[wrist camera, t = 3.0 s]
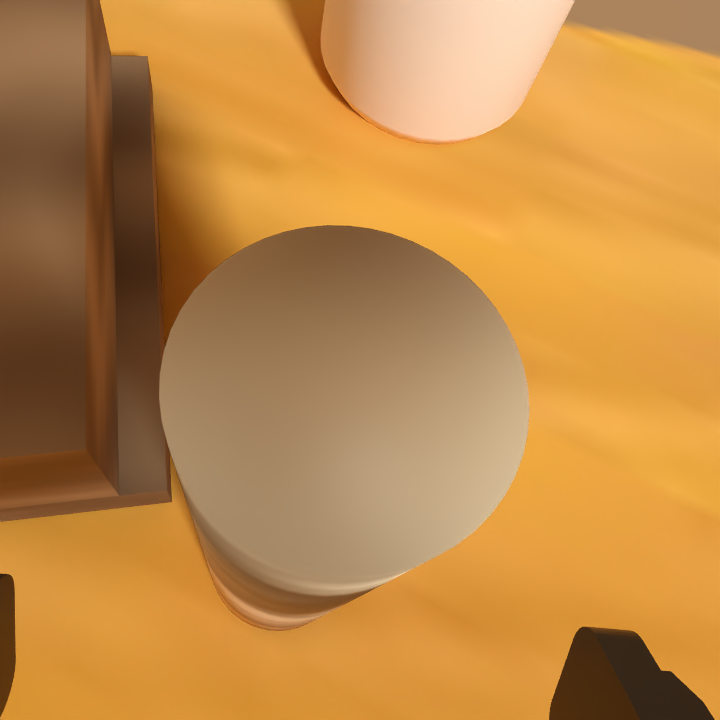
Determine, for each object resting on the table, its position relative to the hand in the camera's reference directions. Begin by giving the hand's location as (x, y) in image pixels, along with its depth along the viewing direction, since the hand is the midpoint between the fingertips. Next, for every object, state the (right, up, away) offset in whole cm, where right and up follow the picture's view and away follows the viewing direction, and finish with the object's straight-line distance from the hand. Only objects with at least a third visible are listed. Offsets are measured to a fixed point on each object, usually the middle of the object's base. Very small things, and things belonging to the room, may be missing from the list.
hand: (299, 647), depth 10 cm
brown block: (-9, +7, +13) cm, 17 cm away
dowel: (-1, -2, +10) cm, 10 cm away
